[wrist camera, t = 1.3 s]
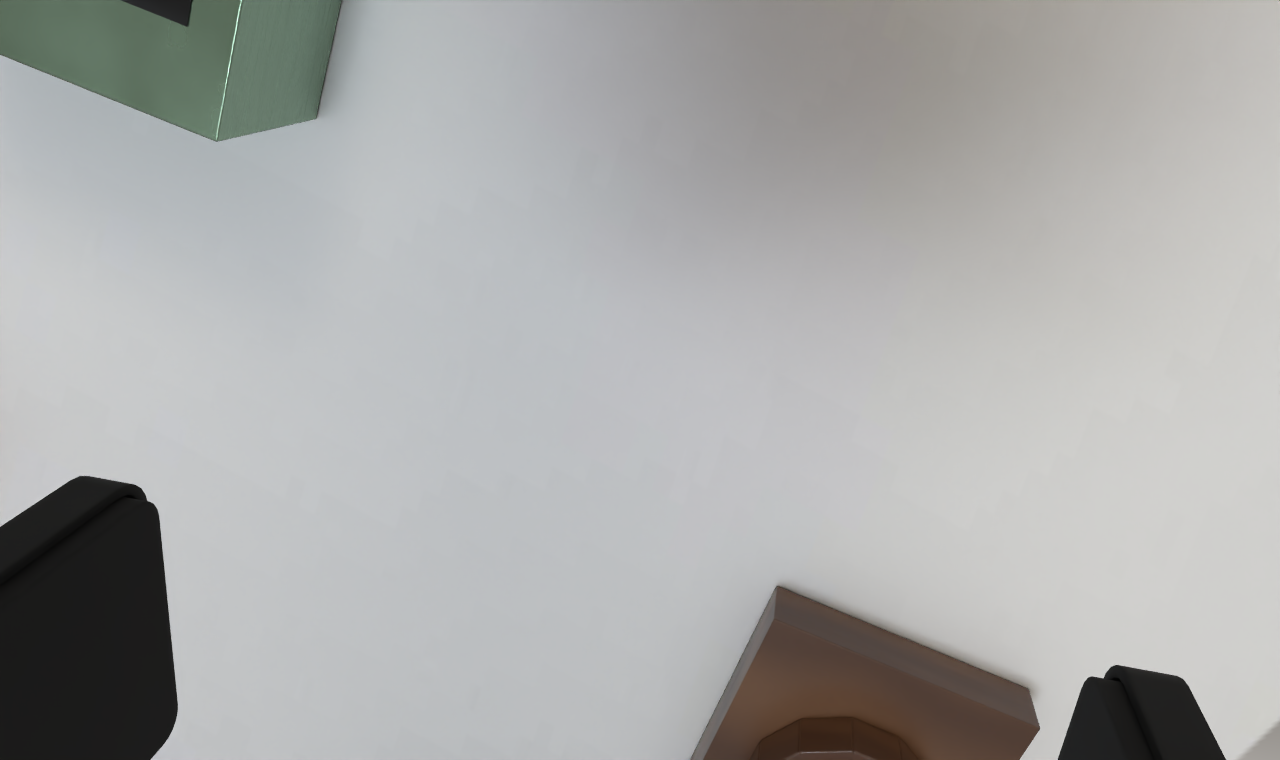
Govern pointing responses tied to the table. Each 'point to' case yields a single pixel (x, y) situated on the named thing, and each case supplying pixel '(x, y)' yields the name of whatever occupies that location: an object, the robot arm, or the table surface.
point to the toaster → (183, 56)
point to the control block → (859, 696)
